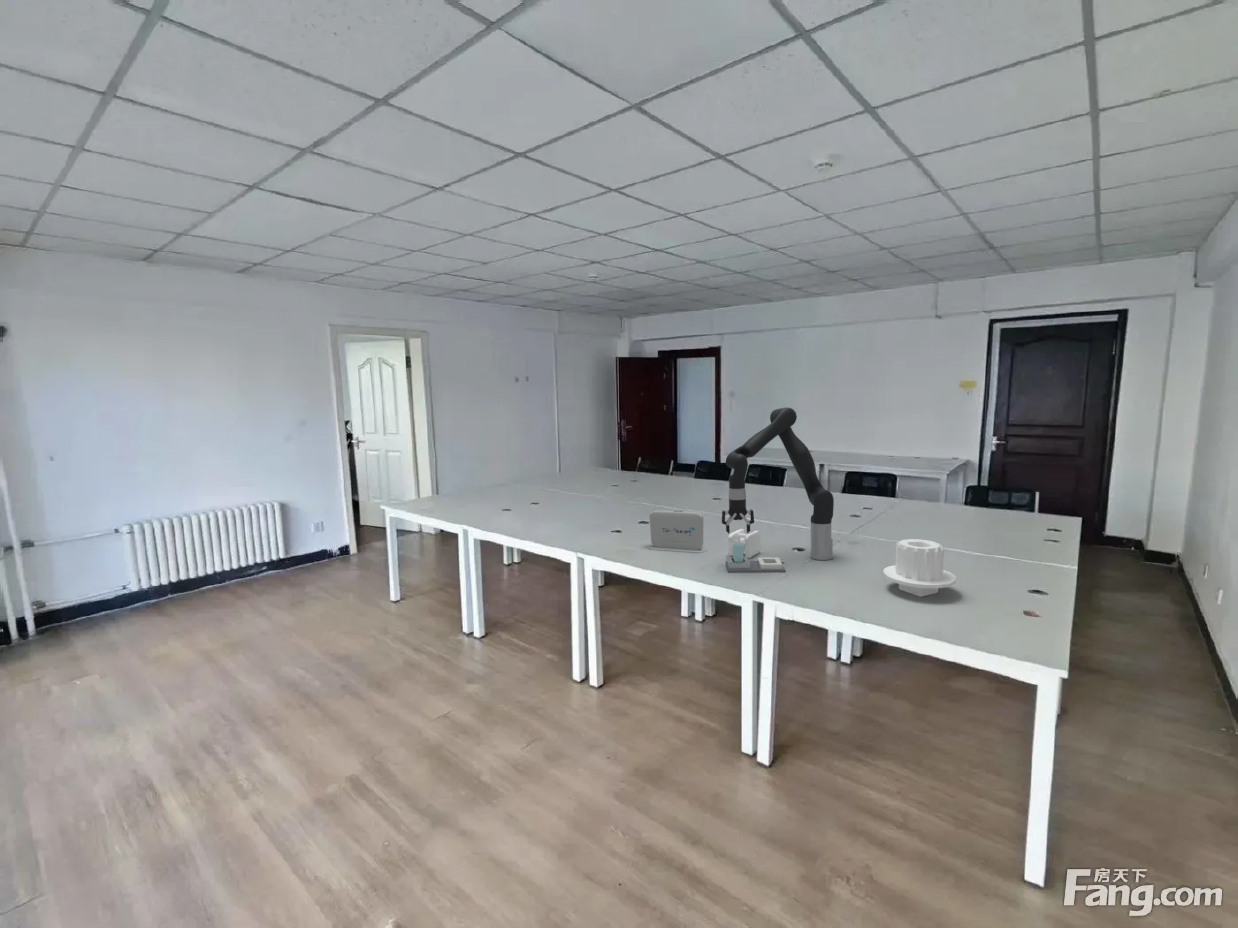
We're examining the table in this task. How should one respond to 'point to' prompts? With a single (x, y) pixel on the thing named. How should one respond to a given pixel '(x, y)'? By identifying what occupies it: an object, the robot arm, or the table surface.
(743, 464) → the robot arm
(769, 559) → the light grey square tray
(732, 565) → the block
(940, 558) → the flanged gear
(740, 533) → the cable organizer
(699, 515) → the wireless router
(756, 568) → the panel base
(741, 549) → the plug
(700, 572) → the table surface
